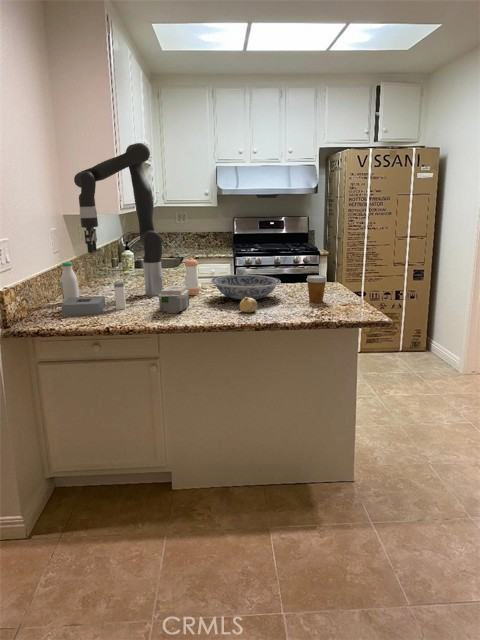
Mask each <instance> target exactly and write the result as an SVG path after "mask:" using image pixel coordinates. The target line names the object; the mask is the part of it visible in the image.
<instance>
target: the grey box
mask: <svg viewBox="0 0 480 640" xmlns="http://www.w3.org/2000/svg"><path fill="white" fill-rule="evenodd" d="M187 289H188V288H187V286H186V285H168V286H166V287H163V290H161V294H160V295H157V296H158V301H159V302H158V304H159V308H160V310H161V312H163V313H164V312H165V313H166V314H179V313H180V312H181V311H184V310H185V309H187V308H188V306H189V305H190V296H189V294H190V291H189V290H187Z"/></svg>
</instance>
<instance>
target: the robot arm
mask: <svg viewBox="0 0 480 640" xmlns="http://www.w3.org/2000/svg"><path fill="white" fill-rule="evenodd" d="M150 156H151V151H150V148H149V147H148V145H147V144H146V143H143V142H136V143H133V144H129V145H128V146H127V148H126V150H125V152H124V153H122V154H120V155H117V156H115V157H111V158H108V159H106V160H104V161H101V162H100V163H97V164H96V165H94V166H92V167H90V168H87V169H84V170H81V171H79V172H77V173H76V174H75V175H74V178H73V181H74V184H75V185H76V186H77V187H78V188H80V194H79V195H78V204H79V217H80V219H79V220H80V227H81V228H84V229H85V230H84V233H83V234H84V239H85V240H84V241H85V245H86V247H87V253H88V254H92V253H93V254H94V252H96V251H97V243H98V242H97V241H98V236H97V229H96V228H98V227H99V223H98V213H97V208H96V207H97V206H96V197H95V195H96V194H95V193H96V187H97V186H96V182H100V181H104V180H106V179H107V178H110V177H112V176H114V175H115V174H117V173H120V172H121V171H123V170H125V169H127V168H128V169H129V174H130V179H131V184H132V185H131V186H132V192H133V198H134V205H135V208H136V215H137V218H138V227H139V229H138V230H139V241H140V243H141V245H142V246H143V247H144V249H143V250H144V255H143V258H142V260H143V261H142V263H143V275H144V277H143V278H144V289H145V290H144V292H145V296H149V297H152V296H153V297H154V296H158V295H160V294H161V290H163V289H164V282H163V272H162V270H163V269H162V257H163V256H162V255H163V244H162V242H163V241H162V237H161V235H160V234H159V233H158V232H157V231H155V226H154V221H153V215H154V205H155V204H154V197H153V190H152V187H151V185H150V183H149V182H148V179H147V177H146V176H145V172H144V166H143V163H146V162H147V161H148V160H149V159H150Z"/></svg>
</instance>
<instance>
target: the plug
mask: <svg viewBox="0 0 480 640" xmlns="http://www.w3.org/2000/svg"><path fill="white" fill-rule="evenodd" d="M113 287H114V288H113V289H114V298H115V300H114V301H115V307H116V310H119V311H120V310H126V309H127V302H126V289H125V282H124V281H121V282H120V281H119V282H114V284H113Z"/></svg>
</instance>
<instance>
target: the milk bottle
mask: <svg viewBox="0 0 480 640" xmlns="http://www.w3.org/2000/svg"><path fill="white" fill-rule="evenodd" d="M61 266H62V274H61V276H60V286H61V296H62V301H63V303H64V302H65V301H66V300H67V299H68V298H72V297H80V291H79V283H78V277H77V275H76V273H75V272H74V269H73V262H72V261H64V262H62V263H61ZM63 303H62V304H63Z"/></svg>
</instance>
